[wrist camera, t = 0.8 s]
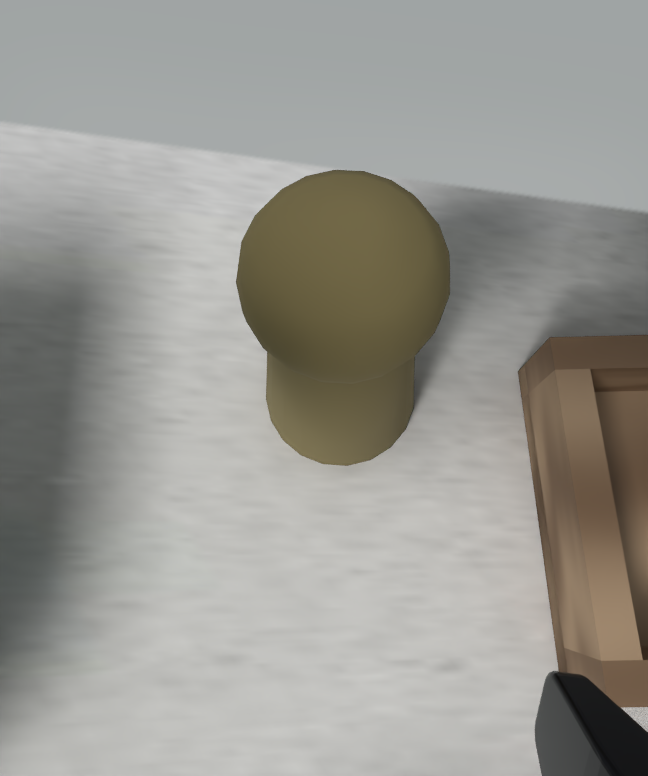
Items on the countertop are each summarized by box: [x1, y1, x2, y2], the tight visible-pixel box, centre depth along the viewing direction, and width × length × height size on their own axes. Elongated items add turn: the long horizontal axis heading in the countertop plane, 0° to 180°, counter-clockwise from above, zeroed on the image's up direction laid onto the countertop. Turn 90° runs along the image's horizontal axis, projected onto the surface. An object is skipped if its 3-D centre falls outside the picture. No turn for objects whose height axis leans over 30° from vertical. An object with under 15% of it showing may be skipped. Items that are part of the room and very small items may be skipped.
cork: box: [236, 170, 450, 466], centre depth 17 cm, size 6×6×11 cm
